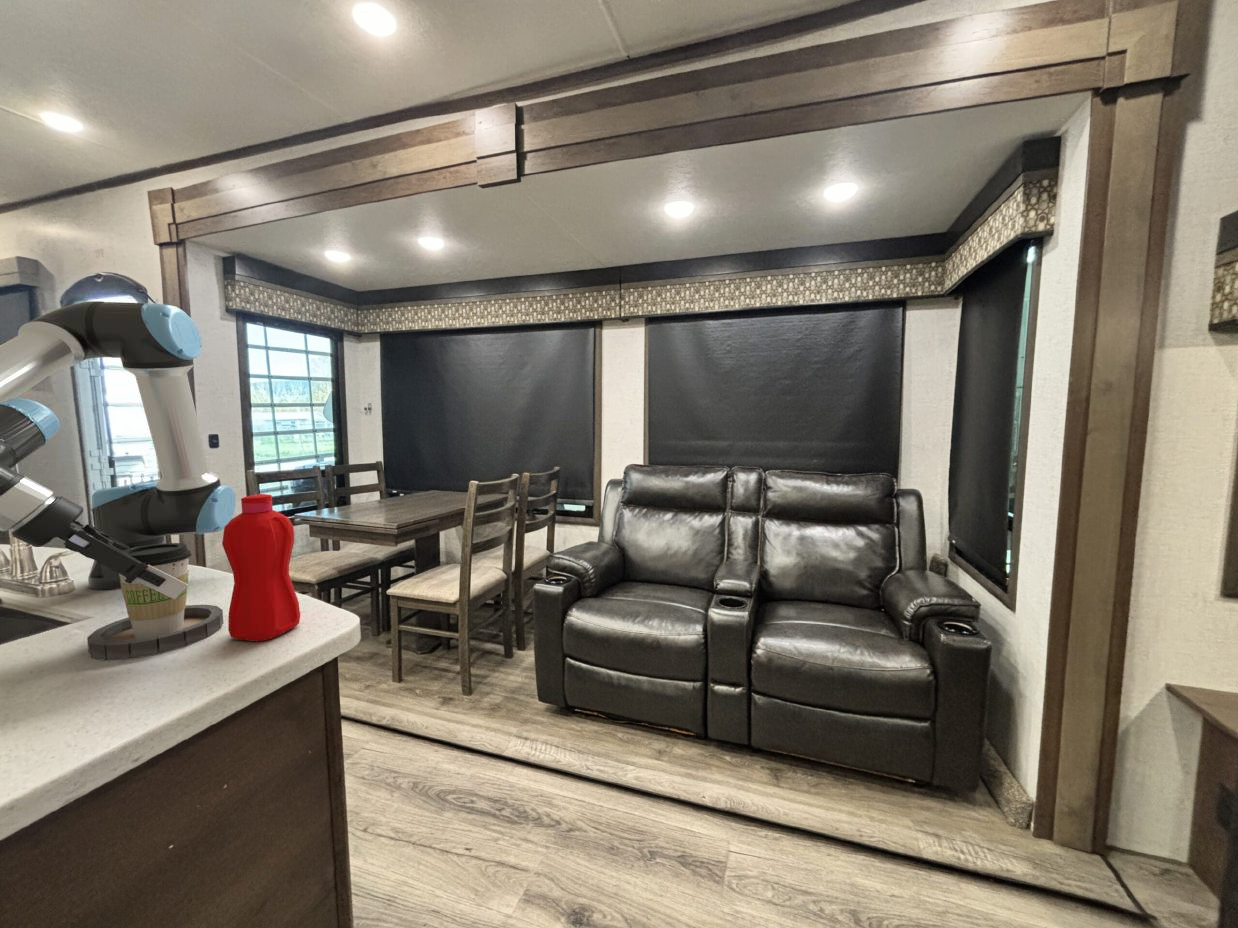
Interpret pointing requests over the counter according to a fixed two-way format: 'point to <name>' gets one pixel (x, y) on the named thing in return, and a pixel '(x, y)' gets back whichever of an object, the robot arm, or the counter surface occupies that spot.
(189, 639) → the round tray
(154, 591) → the coffee cup
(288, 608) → the red curved bottle
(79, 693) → the counter surface
